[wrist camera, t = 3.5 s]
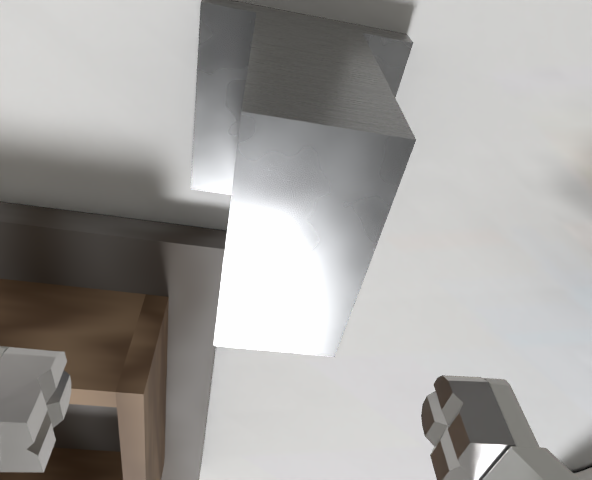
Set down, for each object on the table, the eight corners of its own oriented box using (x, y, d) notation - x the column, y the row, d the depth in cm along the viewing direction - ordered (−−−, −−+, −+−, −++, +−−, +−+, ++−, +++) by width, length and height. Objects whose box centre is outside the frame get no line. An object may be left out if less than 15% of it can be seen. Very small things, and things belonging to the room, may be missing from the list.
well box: (229, 231, 25) (214, 345, 19) (200, 468, 40) (187, 570, 35) (-200, 176, 22) (-375, 289, 16) (-52, 453, 38) (-113, 561, 32)
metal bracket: (406, 33, 19) (496, 152, 11) (354, 198, 24) (392, 362, 16) (205, -6, 18) (146, 95, 10) (194, 175, 23) (149, 339, 15)
